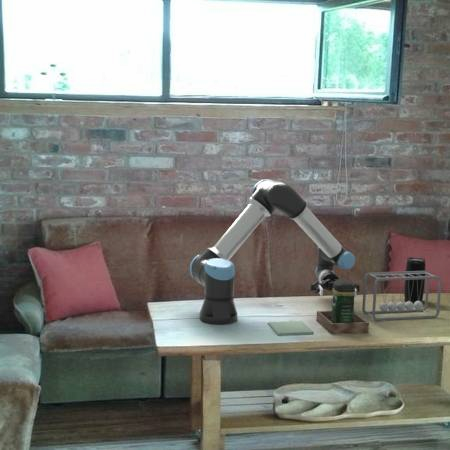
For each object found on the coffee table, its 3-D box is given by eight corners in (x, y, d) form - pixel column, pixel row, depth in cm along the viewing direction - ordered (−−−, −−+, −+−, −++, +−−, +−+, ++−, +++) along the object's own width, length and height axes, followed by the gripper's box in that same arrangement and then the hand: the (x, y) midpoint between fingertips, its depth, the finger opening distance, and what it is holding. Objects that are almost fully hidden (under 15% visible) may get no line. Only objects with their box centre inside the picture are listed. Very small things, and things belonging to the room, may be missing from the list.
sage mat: (277, 335, 259) (277, 333, 259) (267, 323, 273) (267, 322, 273) (313, 333, 262) (313, 331, 262) (301, 322, 276) (302, 320, 276)
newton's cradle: (426, 310, 297) (429, 270, 294) (439, 318, 287) (442, 276, 284) (361, 314, 290) (363, 272, 287) (372, 321, 280) (375, 278, 277)
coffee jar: (355, 330, 268) (358, 283, 265) (335, 330, 267) (338, 283, 264) (347, 322, 277) (350, 277, 274) (328, 323, 276) (330, 277, 273)
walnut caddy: (331, 334, 262) (331, 324, 261) (316, 320, 279) (316, 311, 278) (368, 332, 265) (369, 322, 265) (351, 319, 282) (352, 309, 281)
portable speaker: (423, 299, 315) (426, 257, 311) (422, 305, 306) (426, 261, 302) (403, 297, 317) (406, 255, 314) (402, 303, 308) (406, 259, 305)
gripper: (357, 288, 302) (368, 302, 281) (300, 288, 301) (307, 301, 280) (358, 272, 301) (370, 284, 280) (300, 271, 300) (308, 283, 279)
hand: (338, 293), depth 280 cm, fingers open, 13 cm apart
